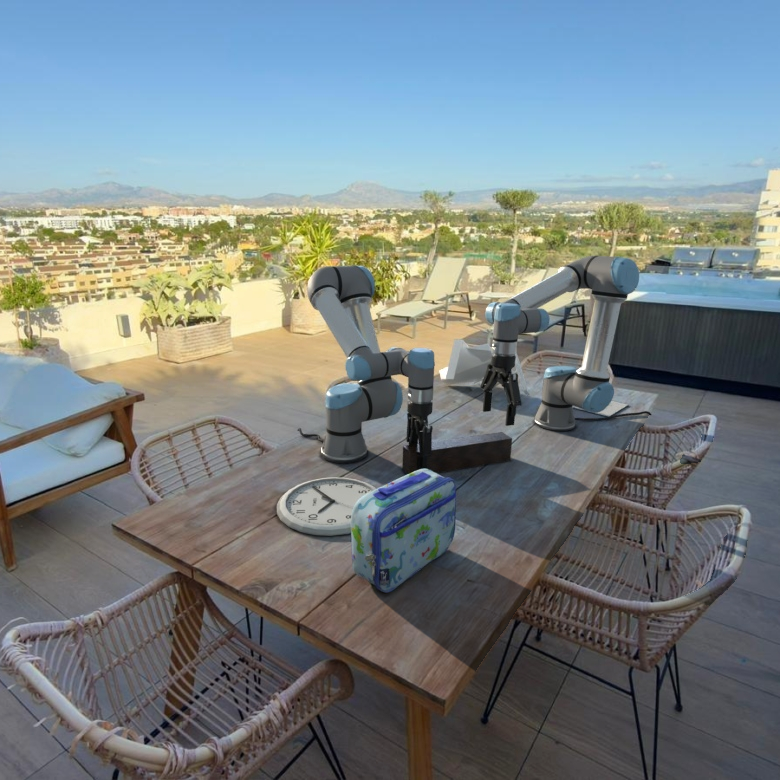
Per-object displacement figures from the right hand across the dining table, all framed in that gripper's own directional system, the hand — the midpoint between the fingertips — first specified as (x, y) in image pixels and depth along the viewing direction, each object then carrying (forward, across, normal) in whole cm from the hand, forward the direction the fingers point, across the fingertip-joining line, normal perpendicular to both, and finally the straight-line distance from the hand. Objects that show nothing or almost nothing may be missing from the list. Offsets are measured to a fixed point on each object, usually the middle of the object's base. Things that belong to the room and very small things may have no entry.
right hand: (497, 418), depth 169 cm
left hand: (+14, 0, -28) cm, 31 cm away
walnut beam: (+15, 0, -14) cm, 20 cm away
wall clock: (+15, +11, -58) cm, 61 cm away
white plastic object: (+14, -66, +33) cm, 75 cm away
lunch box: (+15, +43, -50) cm, 68 cm away
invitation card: (+14, -31, +73) cm, 81 cm away
